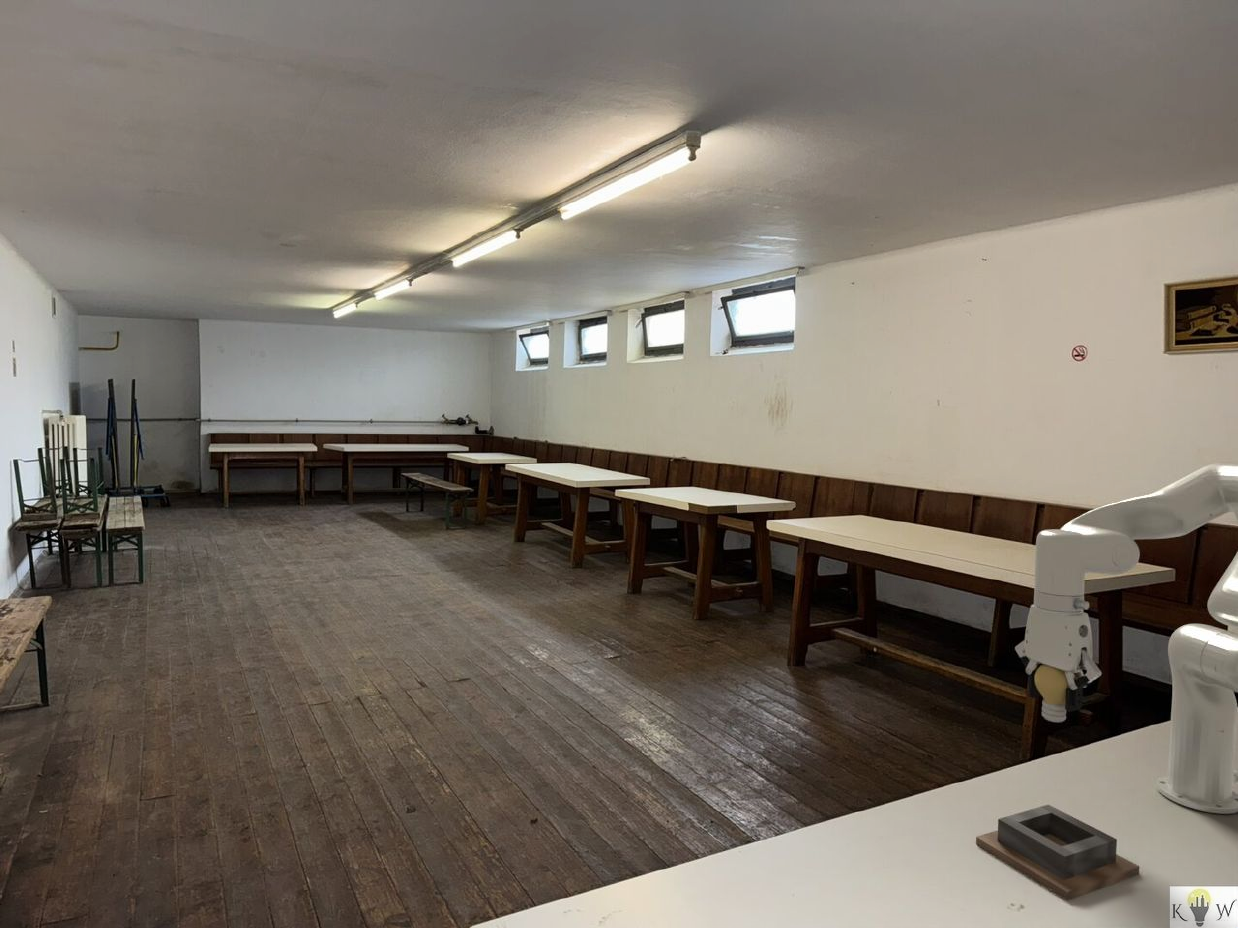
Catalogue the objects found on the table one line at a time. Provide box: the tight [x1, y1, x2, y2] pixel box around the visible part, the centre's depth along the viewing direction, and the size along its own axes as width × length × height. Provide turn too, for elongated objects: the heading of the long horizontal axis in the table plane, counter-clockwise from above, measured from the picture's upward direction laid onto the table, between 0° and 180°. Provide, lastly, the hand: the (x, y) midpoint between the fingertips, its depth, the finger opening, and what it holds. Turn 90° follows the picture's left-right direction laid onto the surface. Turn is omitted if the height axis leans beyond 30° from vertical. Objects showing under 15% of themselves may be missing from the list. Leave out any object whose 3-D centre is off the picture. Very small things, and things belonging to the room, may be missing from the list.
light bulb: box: [1035, 664, 1077, 723], centre depth 137 cm, size 6×6×10 cm
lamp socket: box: [975, 804, 1141, 901], centre depth 123 cm, size 16×16×5 cm
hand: (1054, 701), depth 137 cm, fingers closed on light bulb, 6 cm apart
